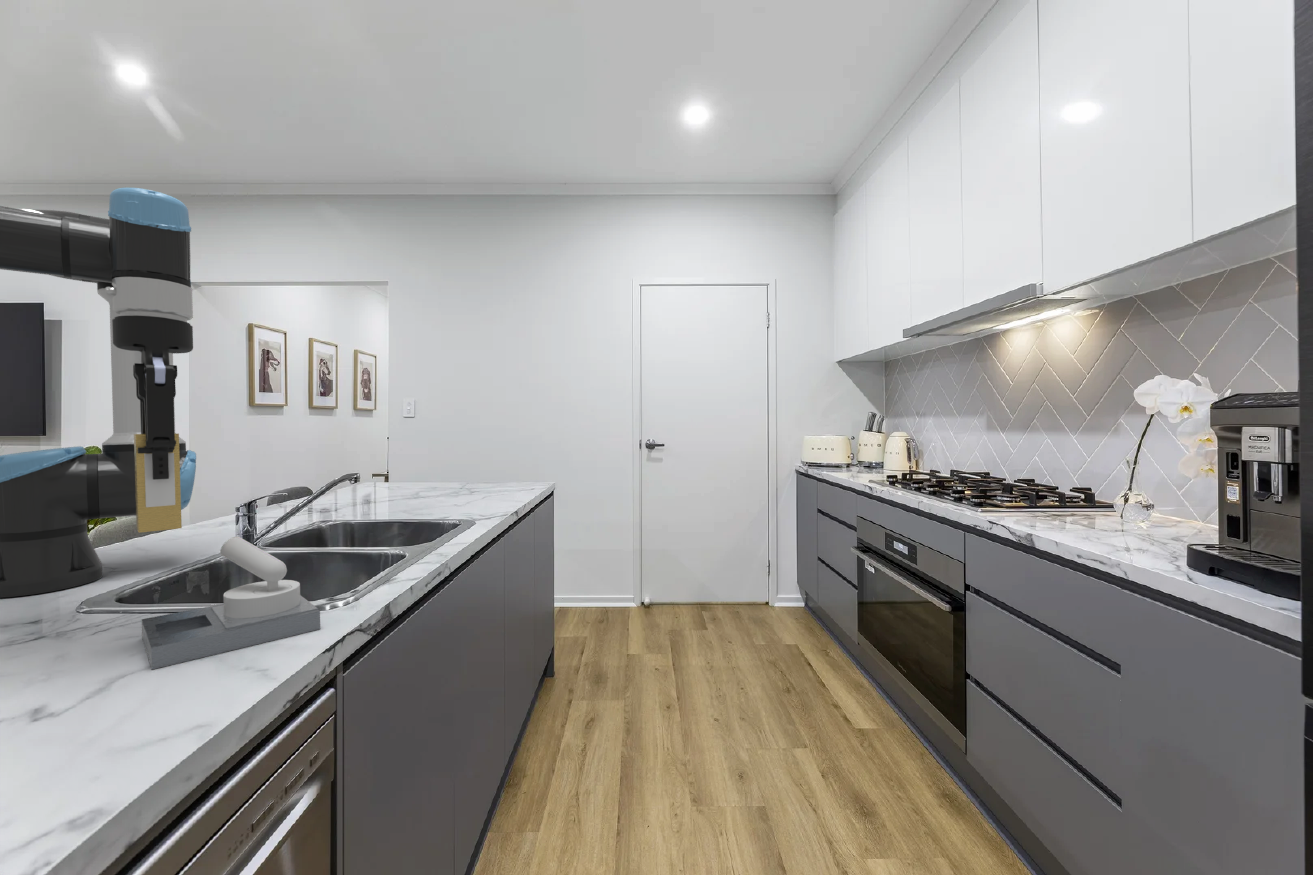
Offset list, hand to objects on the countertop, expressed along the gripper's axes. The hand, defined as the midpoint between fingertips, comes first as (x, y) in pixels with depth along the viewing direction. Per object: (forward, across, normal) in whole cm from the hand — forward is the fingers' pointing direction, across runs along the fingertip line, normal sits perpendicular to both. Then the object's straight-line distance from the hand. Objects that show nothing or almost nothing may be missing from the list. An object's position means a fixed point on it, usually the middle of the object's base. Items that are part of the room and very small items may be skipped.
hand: (159, 503), depth 71 cm
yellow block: (+3, 0, 0) cm, 3 cm away
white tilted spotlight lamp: (+15, +1, +10) cm, 18 cm away
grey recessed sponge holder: (+18, +2, +7) cm, 19 cm away
